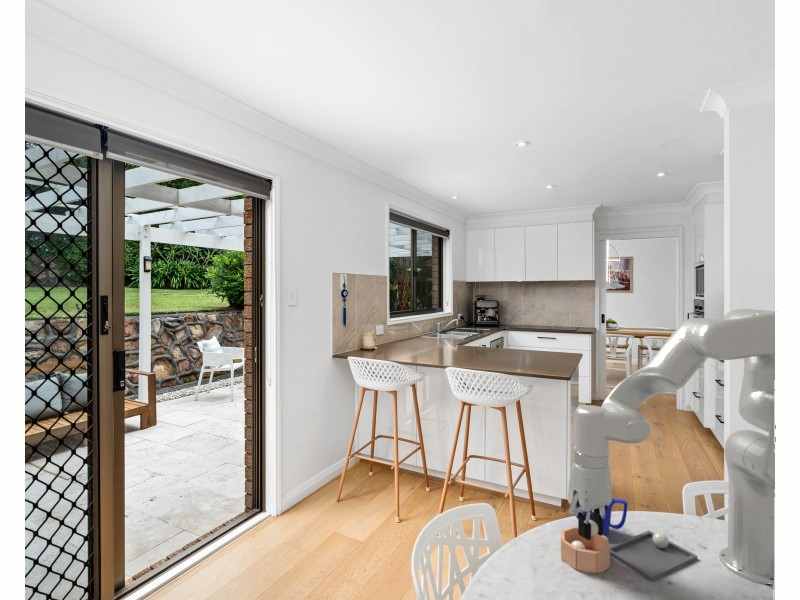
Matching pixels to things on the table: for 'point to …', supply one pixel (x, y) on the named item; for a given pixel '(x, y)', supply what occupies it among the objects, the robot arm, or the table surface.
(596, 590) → the table surface
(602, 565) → the bowl
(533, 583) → the table surface
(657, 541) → the white ball
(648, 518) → the table surface
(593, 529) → the white ball
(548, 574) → the table surface
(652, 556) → the tray
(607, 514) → the mug
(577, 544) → the white ball
